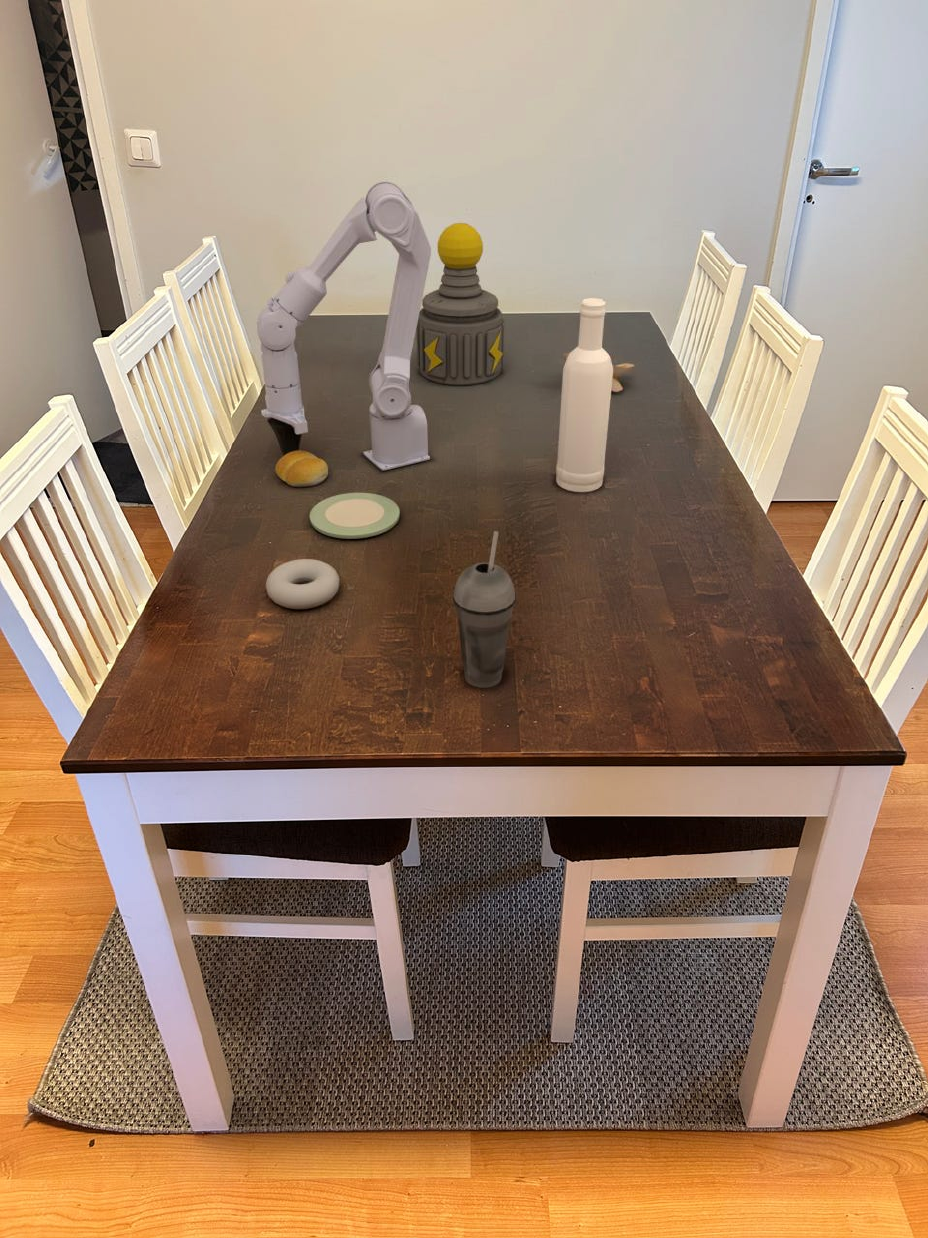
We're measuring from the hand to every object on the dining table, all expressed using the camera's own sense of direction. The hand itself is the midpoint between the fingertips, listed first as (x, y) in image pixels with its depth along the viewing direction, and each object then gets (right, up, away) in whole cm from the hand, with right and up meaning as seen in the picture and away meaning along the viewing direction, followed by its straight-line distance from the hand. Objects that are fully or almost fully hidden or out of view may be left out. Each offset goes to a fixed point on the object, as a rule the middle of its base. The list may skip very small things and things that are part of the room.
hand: (291, 458), depth 161 cm
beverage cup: (+32, -35, -48) cm, 67 cm away
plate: (+13, -12, -15) cm, 23 cm away
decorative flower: (+58, +20, +32) cm, 70 cm away
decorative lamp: (+29, +25, +39) cm, 55 cm away
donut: (+8, -24, -33) cm, 41 cm away
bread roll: (+3, -4, -3) cm, 5 cm away
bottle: (+49, -5, -4) cm, 50 cm away
